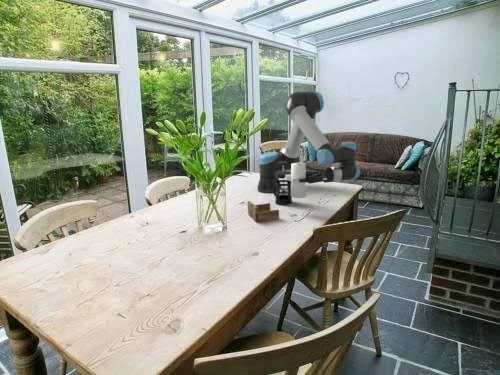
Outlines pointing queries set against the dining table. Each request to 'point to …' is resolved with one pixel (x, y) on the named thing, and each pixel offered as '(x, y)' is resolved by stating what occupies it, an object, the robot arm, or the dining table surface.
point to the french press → (283, 195)
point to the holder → (262, 212)
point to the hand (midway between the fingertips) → (288, 179)
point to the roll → (296, 172)
